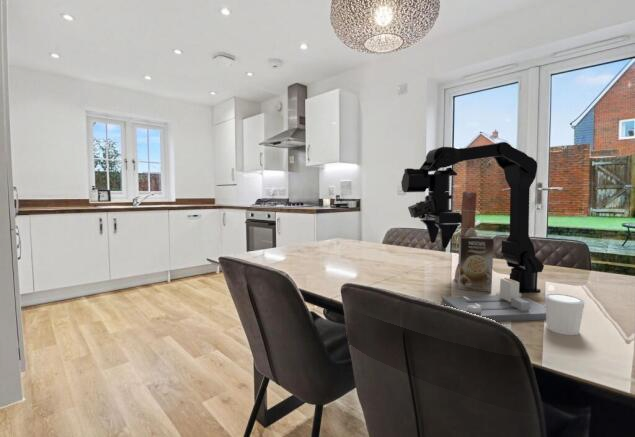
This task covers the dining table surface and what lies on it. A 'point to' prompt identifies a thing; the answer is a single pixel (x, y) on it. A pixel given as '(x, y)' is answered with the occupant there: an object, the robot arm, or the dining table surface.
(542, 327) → the dining table surface
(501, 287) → the fader
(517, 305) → the console
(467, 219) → the vase
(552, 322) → the white cup
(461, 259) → the coffee box
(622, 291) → the dining table surface
